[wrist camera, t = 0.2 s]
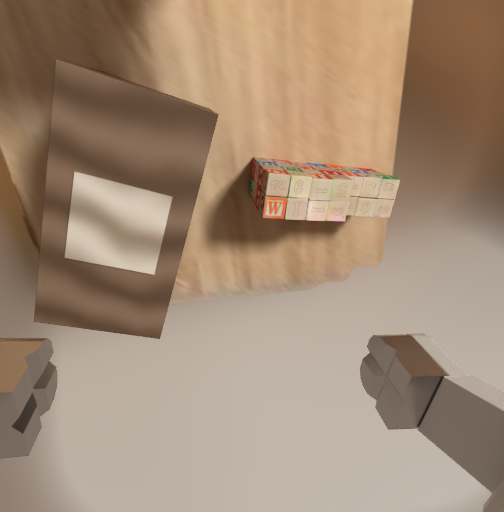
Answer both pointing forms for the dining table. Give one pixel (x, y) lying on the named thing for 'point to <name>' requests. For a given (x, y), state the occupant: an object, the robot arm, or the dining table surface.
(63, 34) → the dining table surface
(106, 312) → the cubby
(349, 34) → the dining table surface
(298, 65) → the dining table surface
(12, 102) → the dining table surface
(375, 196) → the stack of blocks
